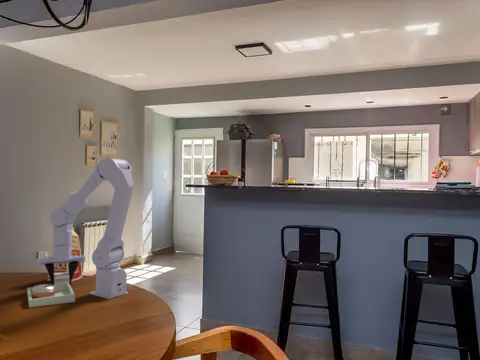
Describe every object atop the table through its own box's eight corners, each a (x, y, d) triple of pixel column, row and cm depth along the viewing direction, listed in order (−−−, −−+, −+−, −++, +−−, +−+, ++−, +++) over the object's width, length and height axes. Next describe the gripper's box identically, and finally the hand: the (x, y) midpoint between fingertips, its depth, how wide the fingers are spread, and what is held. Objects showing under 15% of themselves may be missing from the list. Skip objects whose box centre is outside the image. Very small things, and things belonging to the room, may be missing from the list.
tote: (74, 303, 115) (74, 294, 115) (28, 308, 108) (29, 300, 108) (68, 291, 127) (68, 283, 127) (27, 295, 120) (27, 287, 121)
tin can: (58, 299, 116) (59, 286, 116) (39, 304, 111) (39, 290, 111) (47, 296, 119) (47, 283, 119) (27, 300, 114) (27, 287, 114)
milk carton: (69, 283, 136) (70, 227, 136) (46, 281, 138) (47, 225, 138) (84, 277, 145) (85, 224, 145) (62, 275, 147) (64, 223, 147)
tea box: (69, 290, 128) (69, 275, 128) (53, 291, 125) (54, 276, 125) (67, 286, 132) (67, 272, 132) (52, 288, 129) (53, 273, 129)
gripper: (83, 241, 136) (82, 279, 136) (37, 243, 128) (35, 284, 128) (86, 244, 130) (85, 284, 130) (38, 247, 122) (37, 289, 122)
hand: (61, 284), depth 129 cm, fingers closed on tea box, 4 cm apart
